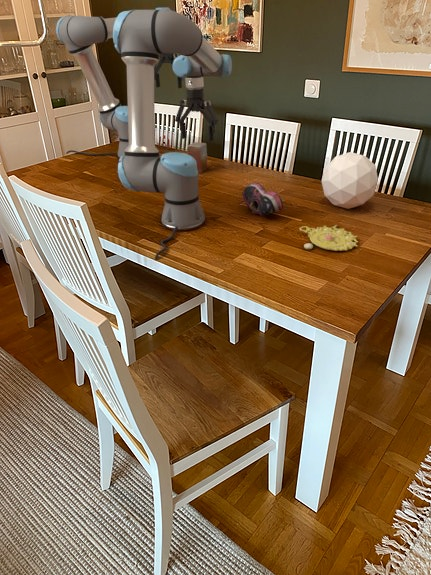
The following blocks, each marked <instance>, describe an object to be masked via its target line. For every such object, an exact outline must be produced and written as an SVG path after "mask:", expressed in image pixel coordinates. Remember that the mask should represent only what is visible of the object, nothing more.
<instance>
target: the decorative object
mask: <svg viewBox="0 0 431 575" xmlns="http://www.w3.org/2000/svg"><path fill="white" fill-rule="evenodd" d="M303 228H304V229H305V230H304V229H303ZM299 231H300V232H303V233H305V234H307V237H308V238H309V240H310V241H311V243H304V244H303V248H304V249H305V250H313V249H314V245H315V246H316V247H318V248H321V249H324V250H328V251H335V252H341V251H348V250H352V249H354V247H356V248H358V247H359V245H358V244H357V243H359V240H357V238H359V237H358V235H353V234H352V231H347V230H346V229H345V228H344V227H342V228H338V224H335V225H333V226H331V227H328V226H327V225H326V224H325V225H323V226H322V227H321V226H317V227H316V228H314V227H309V226H308V225H302V226H300V227H299ZM313 244H314V245H313Z"/></svg>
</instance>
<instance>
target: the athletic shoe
mask: <svg viewBox="0 0 431 575" xmlns="http://www.w3.org/2000/svg"><path fill="white" fill-rule="evenodd" d="M241 197H242V199H243V201H238V203H239V204H241V205H245V206H246V207H247V208H248V210H249V211H250V210H251V213H252V214H255V215H260V217H266V216H267V215H270V214H274V213H275V212H279V211H282V210H283V209H284V205H283V201H282V198H281V196H280V195H279V194H278V192H277V191H274V190H269V191H267V190H266V189H265V187H264V186H263V185H262V184H261V183H258V182H251V183H249V184H247V186H246V187H245V188H244V190H243V191H242V192H241Z"/></svg>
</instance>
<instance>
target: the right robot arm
mask: <svg viewBox="0 0 431 575" xmlns="http://www.w3.org/2000/svg"><path fill="white" fill-rule="evenodd" d="M116 17H117V18H116ZM116 17H115V18H116V20H115V23H114V27H113V38H112V40H113V44H114V48H115V50H116V51H117V53H118V54H120V55H121V56H120V57H121V60H122V61H123V63H124V64H125V65H126V90H127V91H126V92H127V94H126V96H127V106H128V132H129V145H128V147H127V148H126V149H125V150H124V153H125V155H123V156H121V157H120V159H119V158H118V159H119V160H118V162H117V173H118V178H119V180H120V183H121V184H122V185H123V187H124V188H125V189H127V190H129V191H135V192H137V193H140V192H145V193H157V194H163V195H164V204H163V209H162V213H161V219H160V220H161V225H162V227H163V228H165V229H167V230H170V231H172V232H171V234H170V236H169V237H168V238H164V239H162V240H161V241H160V246H162V247H163V248H161V249H160V250H159V251H157V252H156V254H155V256H154V261H158V257H159V256H160V254H162V253H164V252H165V251H167V248H168V247H167V245H166V244H165V243H166V242H169V241H171V240H172V239H173V238H174V235H175V234H176V231H177V232H185V231H186V232H187V231H192V230H195V229H198V228H201V227H202V226H203V225H204V224H205V223H206V217H205V212H204V210H203V208H202V204H201V202H200V196H199V175H198V174H199V173H198V170H197V163H196V160H195V159H194V158H193V157H192V156H190V155H188V153H185V152H179V151H174V152H171V151H170V152H165V153H163V154H162V155H161V156H160V150H159V149H158V148H157V146H156V141H155V140H156V133H155V132H156V127H155V126H156V122H155V121H156V120H155V79H154V67H155V65H156V64H157V65H158V63H159V61H160V57H159V54H165V53H174V54H177V53H178V54H179V56H178V57H177V58H176V59H175V58H174V62H173V66H172V71H173V73H174V75H175V76H176V77H177V76H178V77H181V78H183V79H184V78H185V88H186V89H185V95H186V99H185V98H182V99H180V101H179V107H178V110H177V113H176V115H175V118H174V121H175V122H176V123H178V125H179V126H178V127H179V131H180V132H181V140H185V139H186V138H187V129H186V128H187V127H186V126H187V125H186V122H185V120H186V119H187V118H188V116H189V115H190V113H191V112H196V113H200V114H201V115H202V116H203V117H204V119H205V120H206V122H207V123H208V124H209V125H208V142H213V141H214V134H215V131H216V125H218V124H220V122H219V119H218V117H217V115H216V112H215V110H214V107H213V106H212V100H206V101H205V89H204V87H205V84H204V77H215V78H216V77H217V78H219V77H220V78H225V77H229V76H230V75H231V74H232V71H233V60H232V57H231V55H229V54H224V53H222V54H220V52H218V51H217V50H216V49H215V47H213V46H212V44H211V43H210V42H209V41H208V40H207V39H206V38H205V37H204V36H203V32H202V29H201V28H200V27H199V26H198V25H197V23H195V22H194V21H193V20H192V19H190V18H188V17H187V16H185V15H183V14H181V13H179V12H177V11H174V10H172V9H170V10H167V9H161V10H156V9H131V10H123V11H121V12H120V13H119V14H118V15H117V16H116ZM157 65H156V66H157ZM178 77H177V78H178ZM186 106H187V108H186V109H185V107H186ZM184 109H185V112H184ZM183 112H184V113H183Z"/></svg>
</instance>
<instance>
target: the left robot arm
mask: <svg viewBox="0 0 431 575" xmlns="http://www.w3.org/2000/svg"><path fill="white" fill-rule="evenodd" d="M161 9H167V10H171V8H170V7H168V6H167V7H156V8H155V10H161ZM117 17H118V16H116V17H109V18H108V17H107V18H104V17H103V16H86V15H71V14H67V15H65V16H62V17H60V18H59V20H58V21H57V23H56V26H55V32H56V36H57V39H58V40H59V41H60V42H61V43H62V44H63V45H65V47H66V49H67V51H68V53H69V54H70V55H71V56H74V57H75V59H76V61H77V64H78V65H79V67H80V69H81V71H82V74H83V75H84V78H85V80H86V82H87V84H88V86H89V88H90V90H91V92H92V94H93V96H94V98H95V100H96V102H97V104H98V107H97V111H98V113H99V115H98V118H99V119H98V120H99V122H100V123H101V125H102V126H103V127H104V128H106V129H107V130H109V131H112V132H116V133H117V135H118V141H119V142H118V150H117V151H116V152H103V153H88V152H84V151H79V150H78V151H77V150H72V149H71V150H67V152H66V153H65V155H68V154H70V153H76V154H80V155H85V156H106V155H107V156H108V155H110V156H111V155H117V158H118V159H120V157H121V156H123V155H125V153H124V150H125V149H126V148H127V147H128V145H129V132H128V105H122V104H121V102H120V99H119V98H116V97H115V96H114V94H113V91H112V89H111V87H110V85H109V83H108V81H107V79H106V76H105V74H104V72H103V70H102V67H101V66H100V64H99V61H98V59H97V57H96V55H95V53H94V51H93V50H94V49H93V46H94V45H95V44H101V43H106V42H107V41H108V40H109V39H113V27H114V23H115V20H116V18H117ZM178 56H180V54H178V53H165V54H159V62H158V63H157V64H156V65H155V67H154V81H155V87H156V88H160V87H161V81H160V74H159V71H160V69H161V68H162V66H163V64H170V65H172V67H173V62H174V60H175V59H176V58H177V57H178ZM176 77H177V88H178V89H182V88H183V84H182V82H183V81H184V77H183V78H181V77H178V76H177V75H176Z"/></svg>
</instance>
